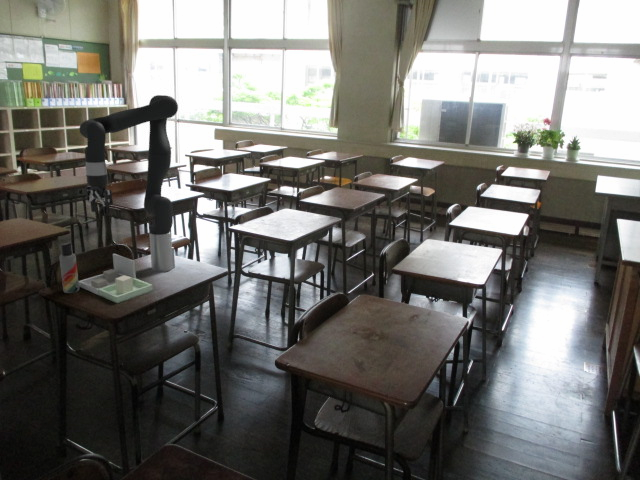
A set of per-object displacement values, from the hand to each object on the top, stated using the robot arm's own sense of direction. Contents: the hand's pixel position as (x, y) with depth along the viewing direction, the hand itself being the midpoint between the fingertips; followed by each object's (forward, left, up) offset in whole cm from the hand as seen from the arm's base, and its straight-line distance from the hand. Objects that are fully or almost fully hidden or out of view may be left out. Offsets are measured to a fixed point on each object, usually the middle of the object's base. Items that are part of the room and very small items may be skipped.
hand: (100, 213), depth 205 cm
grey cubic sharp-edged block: (-1, +1, -29) cm, 29 cm away
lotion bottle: (+15, -1, -30) cm, 33 cm away
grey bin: (+3, +4, -29) cm, 30 cm away
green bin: (+3, +17, -29) cm, 34 cm away
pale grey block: (+8, +7, -29) cm, 31 cm away
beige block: (+3, +17, -28) cm, 33 cm away
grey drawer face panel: (-6, +4, -29) cm, 30 cm away
